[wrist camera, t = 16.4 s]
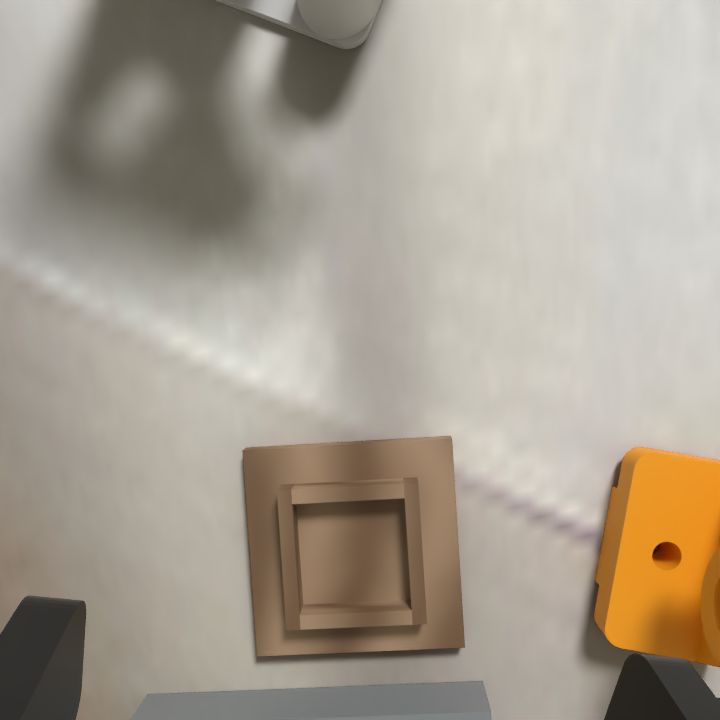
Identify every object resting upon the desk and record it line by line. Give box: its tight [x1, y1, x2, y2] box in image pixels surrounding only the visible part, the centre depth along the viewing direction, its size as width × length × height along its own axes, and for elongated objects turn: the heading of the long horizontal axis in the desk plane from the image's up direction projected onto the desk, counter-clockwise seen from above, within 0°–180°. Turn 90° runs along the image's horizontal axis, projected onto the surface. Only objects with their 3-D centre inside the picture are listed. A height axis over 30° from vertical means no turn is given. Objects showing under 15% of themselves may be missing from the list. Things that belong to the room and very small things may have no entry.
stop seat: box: [243, 436, 465, 656], centre depth 37 cm, size 12×12×2 cm
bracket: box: [594, 447, 720, 667], centre depth 32 cm, size 11×7×12 cm
